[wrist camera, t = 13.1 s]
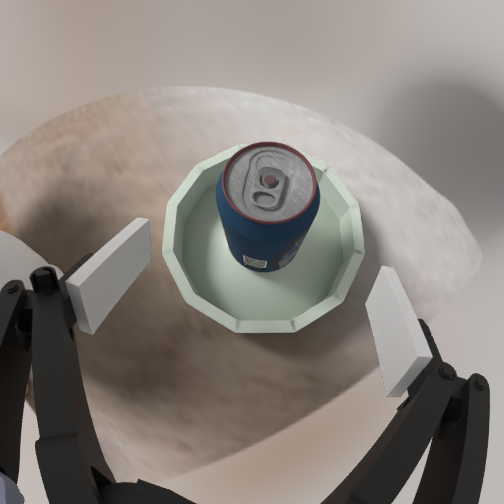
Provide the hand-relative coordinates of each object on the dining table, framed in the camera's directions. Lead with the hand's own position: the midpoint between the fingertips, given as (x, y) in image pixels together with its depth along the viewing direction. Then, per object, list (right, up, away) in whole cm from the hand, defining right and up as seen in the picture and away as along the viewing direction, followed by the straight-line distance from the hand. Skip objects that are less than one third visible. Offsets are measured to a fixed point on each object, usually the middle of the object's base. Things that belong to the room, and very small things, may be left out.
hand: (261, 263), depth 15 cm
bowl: (+1, +2, +14) cm, 14 cm away
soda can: (+1, +2, +13) cm, 13 cm away
